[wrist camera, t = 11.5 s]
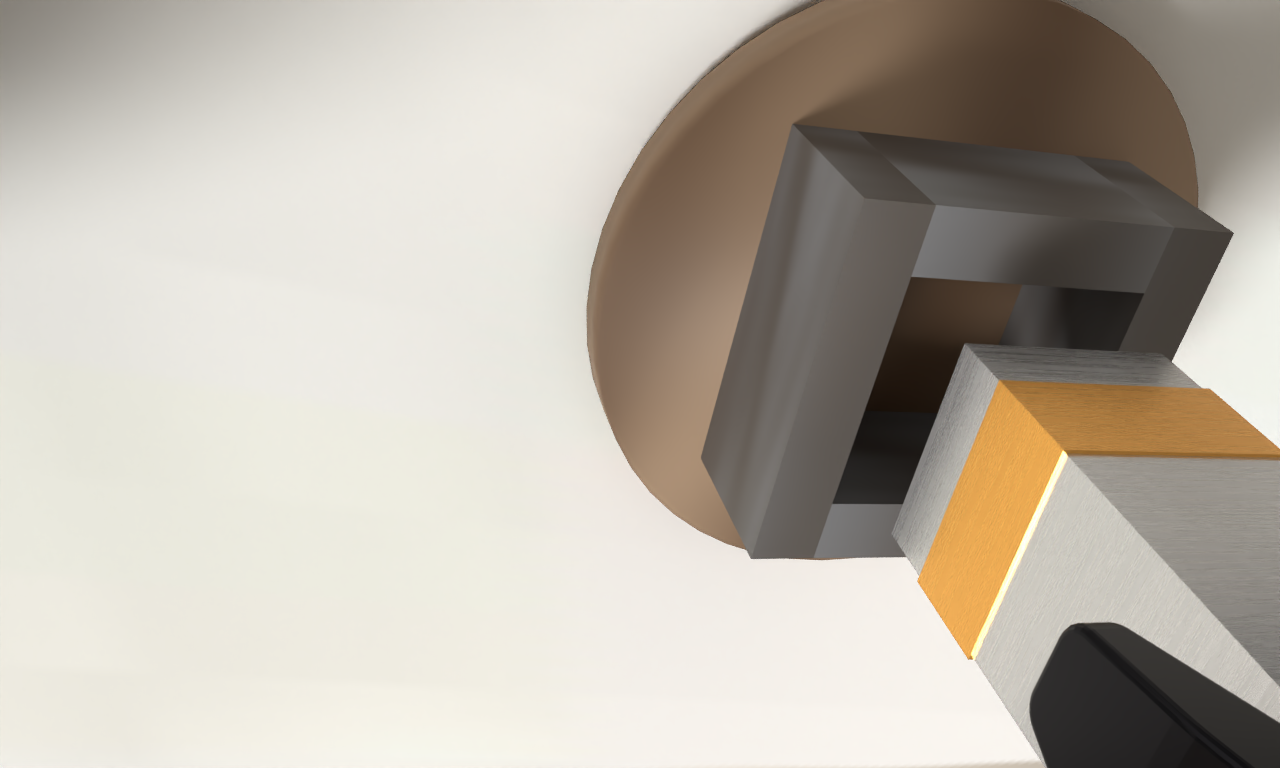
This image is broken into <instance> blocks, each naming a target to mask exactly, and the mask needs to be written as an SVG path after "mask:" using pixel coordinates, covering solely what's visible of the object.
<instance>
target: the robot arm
mask: <svg viewBox="0 0 1280 768" xmlns="http://www.w3.org/2000/svg"><path fill="white" fill-rule="evenodd" d="M1029 715H1030V721H1031V725H1032V728H1033V731H1034V734H1035V737H1036V739H1037V742H1038V745H1039V747H1040V750H1041V753H1042V756H1043V758H1044V761H1045V764H1046V766H1047V768H1280V722H1278V721H1276V720H1275V719H1273V718H1272V717H1270V716H1268V715H1267V714H1265V713H1264V712H1262V711H1260V710H1259V709H1257V708H1256V707H1254V706H1252V705H1251V704H1249V703H1247V702H1246V701H1244V700H1243V699H1241V698H1239V697H1238V696H1236V695H1235V694H1233V693H1231V692H1230V691H1228V690H1227V689H1225V688H1223V687H1222V686H1220V685H1219V684H1217V683H1215V682H1214V681H1212V680H1211V679H1209V678H1207V677H1206V676H1204V675H1202V674H1201V673H1199V672H1198V671H1196V670H1194V669H1193V668H1191V667H1190V666H1188V665H1186V664H1185V663H1183V662H1182V661H1180V660H1178V659H1177V658H1175V657H1174V656H1172V655H1170V654H1169V653H1167V652H1165V651H1164V650H1162V649H1161V648H1159V647H1157V646H1156V645H1154V644H1153V643H1151V642H1149V641H1148V640H1146V639H1145V638H1143V637H1141V636H1140V635H1138V634H1137V633H1135V632H1133V631H1132V630H1130V629H1129V628H1127V627H1125V626H1123V625H1121V624H1117V623H1112V622H1094V623H1076V624H1073V625H1070V626H1069V627H1068V628H1066V629H1065V630H1064V631H1063V632H1062V634H1061V635H1060V637H1059V639H1058V641H1057V643H1056V645H1055V647H1054V649H1053V651H1052V653H1051V655H1050V657H1049V659H1048V661H1047V663H1046V665H1045V667H1044V669H1043V671H1042V673H1041V675H1040V677H1039V679H1038V681H1037V683H1036V685H1035V687H1034V689H1033V691H1032V693H1031V697H1030V702H1029Z"/></svg>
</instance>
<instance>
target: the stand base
mask: <svg viewBox="0 0 1280 768" xmlns="http://www.w3.org/2000/svg"><path fill="white" fill-rule="evenodd" d="M1233 234H1234V233H1233V232H1232V231H1230V230H1229V229H1227V228H1226V227H1224V226H1223V225H1221V224H1220V223H1218V222H1217V221H1215V220H1214V219H1213V218H1211V217H1210V216H1208V215H1207V214H1205V213H1204V212H1202V211H1201V210H1199V209H1198V185H1197V176H1196V167H1195V158H1194V153H1193V150H1192V146H1191V142H1190V139H1189V135H1188V131H1187V128H1186V124H1185V121H1184V119H1183V117H1182V115H1181V113H1180V111H1179V109H1178V106H1177V104H1176V102H1175V100H1174V98H1173V96H1172V94H1171V92H1170V90H1169V89H1168V87H1167V86H1166V85H1165V83H1164V82H1163V80H1162V79H1161V77H1160V76H1159V75H1158V73H1157V72H1156V70H1155V69H1154V68H1153V66H1152V65H1151V63H1150V62H1149V61H1147V60H1146V59H1145V58H1144V57H1143V56H1142V55H1141V54H1140V53H1139V52H1138V51H1137V50H1136V49H1135V48H1134V47H1133V46H1132V45H1131V44H1130V43H1129V42H1128V41H1127V40H1126V39H1125V38H1123V37H1122V36H1120V35H1119V34H1117V33H1116V32H1114V31H1113V30H1111V29H1110V28H1108V27H1107V26H1105V25H1104V24H1102V23H1101V22H1099V21H1098V20H1096V19H1094V18H1093V17H1091V16H1089V15H1087V14H1085V13H1083V12H1081V11H1079V10H1078V9H1076V8H1074V7H1072V6H1070V5H1068V4H1066V3H1065V2H1062V1H1060V0H824V1H821V2H819V3H817V4H815V5H813V6H811V7H809V8H807V9H805V10H803V11H801V12H799V13H797V14H795V15H793V16H791V17H789V18H787V19H785V20H783V21H781V22H779V23H777V24H775V25H774V26H772V27H771V28H769V29H768V30H766V31H765V32H763V33H762V34H760V35H759V36H757V37H756V38H754V39H752V40H751V41H749V42H748V43H746V44H745V45H743V46H742V47H740V48H739V49H737V50H736V51H735V52H734V53H733V54H731V55H730V56H729V57H728V58H727V59H725V60H724V61H723V62H722V63H721V64H719V65H718V66H717V67H716V68H715V69H713V70H712V71H711V72H710V73H709V74H707V75H706V76H705V77H704V78H703V79H701V81H700V82H699V83H698V84H697V85H696V86H695V87H694V88H693V89H692V90H691V91H690V92H689V93H688V94H687V95H686V96H685V97H684V98H683V99H682V101H681V102H680V103H679V104H678V105H677V106H676V107H675V108H674V109H673V110H672V111H671V112H670V113H669V114H668V116H667V117H666V118H665V120H664V121H663V122H662V124H661V125H660V126H659V128H658V129H657V130H656V132H655V133H654V134H653V136H652V137H651V138H650V140H649V141H648V142H647V144H646V145H645V146H644V148H643V149H642V150H641V152H640V154H639V156H638V157H637V159H636V161H635V163H634V164H633V166H632V168H631V170H630V171H629V173H628V175H627V176H626V178H625V180H624V182H623V183H622V185H621V187H620V189H619V191H618V193H617V195H616V198H615V200H614V203H613V205H612V207H611V210H610V212H609V215H608V217H607V219H606V222H605V224H604V226H603V229H602V232H601V236H600V240H599V243H598V247H597V251H596V254H595V258H594V262H593V265H592V269H591V277H590V285H589V292H588V300H587V346H588V352H589V358H590V363H591V369H592V375H593V380H594V383H595V386H596V388H597V391H598V394H599V397H600V400H601V403H602V406H603V409H604V412H605V414H606V416H607V419H608V421H609V424H610V426H611V429H612V431H613V433H614V436H615V438H616V440H617V442H618V444H619V446H620V448H621V450H622V451H623V453H624V455H625V457H626V459H627V461H628V463H629V464H630V466H631V468H632V469H633V471H634V472H635V473H636V474H637V476H638V477H639V478H640V480H641V481H642V482H643V484H644V485H645V486H646V487H647V489H648V490H649V491H650V493H652V494H653V495H654V496H655V497H656V498H657V499H658V500H659V501H660V502H661V503H662V504H663V505H664V506H666V507H667V508H668V509H669V510H670V511H671V512H672V513H673V514H675V515H676V516H678V517H679V518H681V519H682V520H684V521H685V522H687V523H688V524H690V525H691V526H693V527H694V528H696V529H697V530H699V531H700V532H703V533H705V534H707V535H709V536H711V537H713V538H715V539H718V540H720V541H722V542H724V543H726V544H729V545H732V546H735V547H739V548H742V549H745V550H747V552H748V554H749V556H750V558H751V559H779V558H789V559H809V560H831V559H846V558H866V557H906V555H905V554H904V552H903V551H902V549H901V548H900V546H899V545H898V543H897V541H896V540H895V538H894V537H893V535H892V531H893V529H894V526H895V524H896V521H897V518H898V516H899V513H900V511H901V508H902V505H903V503H904V500H905V498H906V495H907V492H908V490H909V487H910V485H911V482H912V479H913V477H914V474H915V471H916V469H917V466H918V464H919V461H920V458H921V456H922V453H923V451H924V448H925V445H926V443H927V440H928V438H929V435H930V432H931V430H932V427H933V425H934V422H935V419H936V417H937V414H938V412H939V409H940V406H941V404H942V401H943V399H944V396H945V393H946V391H947V388H948V386H949V383H950V380H951V378H952V375H953V372H954V370H955V367H956V365H957V362H958V359H959V357H960V354H961V352H962V349H963V346H964V344H965V343H968V344H987V345H1006V346H1025V347H1044V348H1063V349H1082V350H1100V351H1119V352H1138V353H1157V354H1163V355H1164V356H1165V357H1166V358H1168V359H1169V360H1170V361H1171V362H1172V360H1173V358H1174V355H1175V353H1176V351H1177V349H1178V347H1179V345H1180V343H1181V341H1182V339H1183V337H1184V335H1185V333H1186V331H1187V329H1188V327H1189V325H1190V322H1191V320H1192V318H1193V316H1194V314H1195V312H1196V310H1197V308H1198V306H1199V304H1200V302H1201V300H1202V298H1203V296H1204V294H1205V292H1206V290H1207V287H1208V285H1209V283H1210V281H1211V279H1212V277H1213V275H1214V273H1215V271H1216V269H1217V267H1218V265H1219V263H1220V261H1221V259H1222V257H1223V254H1224V252H1225V250H1226V248H1227V246H1228V244H1229V242H1230V240H1231V238H1232V236H1233Z"/></svg>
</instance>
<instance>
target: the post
mask: <svg viewBox="0 0 1280 768" xmlns="http://www.w3.org/2000/svg"><path fill="white" fill-rule="evenodd" d="M892 535H893V537H894V538H895V540H896V541H897V543H898V545H899V546H900V548H901V549H902V551H903V552H904V554H905V555H906V557H907V558H908V560H909V561H910V563H911V564H912V566H913V567H914V569H915V570H916V572H917V573H918V575H919V578H918V581H917V582H918V583H919V585H920V586H921V588H922V589H923V591H924V592H925V594H926V595H927V597H928V598H929V600H930V602H931V603H932V605H933V606H934V608H935V609H936V611H937V612H938V614H939V615H940V617H941V618H942V620H943V621H944V623H945V624H946V626H947V628H948V629H949V631H950V632H951V634H952V635H953V637H954V638H955V640H956V641H957V643H958V644H959V646H960V647H961V649H962V650H963V652H964V654H965V655H966V657H967V658H968V660H969V659H974V660H975V661H976V663H977V664H978V666H979V667H980V669H981V670H982V672H983V673H984V675H985V676H986V678H987V680H988V681H989V683H990V684H991V686H992V687H993V689H994V690H995V692H996V693H997V695H998V696H999V698H1000V699H1001V701H1002V702H1003V704H1004V705H1005V707H1006V708H1007V710H1008V711H1009V713H1010V714H1011V716H1012V717H1013V719H1014V720H1015V722H1016V724H1017V725H1018V727H1019V728H1020V730H1021V731H1022V733H1023V734H1024V736H1025V737H1026V739H1027V740H1028V742H1029V743H1030V745H1031V746H1032V748H1033V749H1034V751H1035V752H1036V754H1037V755H1038V757H1039V758H1040V760H1041V761H1042V763H1043V764H1044V766H1045V767H1046V768H1047V766H1046V764H1045V761H1044V758H1043V756H1042V753H1041V750H1040V747H1039V745H1038V742H1037V739H1036V737H1035V734H1034V731H1033V728H1032V725H1031V721H1030V715H1029V702H1030V697H1031V693H1032V691H1033V689H1034V687H1035V685H1036V683H1037V681H1038V679H1039V677H1040V675H1041V673H1042V671H1043V669H1044V667H1045V665H1046V663H1047V661H1048V659H1049V657H1050V655H1051V653H1052V651H1053V649H1054V647H1055V645H1056V643H1057V641H1058V639H1059V637H1060V635H1061V634H1062V632H1063V631H1064V630H1065V629H1066V628H1068V627H1069V626H1070V625H1073V624H1076V623H1094V622H1112V623H1117V624H1121V625H1123V626H1125V627H1127V628H1129V629H1130V630H1132V631H1133V632H1135V633H1137V634H1138V635H1140V636H1141V637H1143V638H1145V639H1146V640H1148V641H1149V642H1151V643H1153V644H1154V645H1156V646H1157V647H1159V648H1161V649H1162V650H1164V651H1165V652H1167V653H1169V654H1170V655H1172V656H1174V657H1175V658H1177V659H1178V660H1180V661H1182V662H1183V663H1185V664H1186V665H1188V666H1190V667H1191V668H1193V669H1194V670H1196V671H1198V672H1199V673H1201V674H1202V675H1204V676H1206V677H1207V678H1209V679H1211V680H1212V681H1214V682H1215V683H1217V684H1219V685H1220V686H1222V687H1223V688H1225V689H1227V690H1228V691H1230V692H1231V693H1233V694H1235V695H1236V696H1238V697H1239V698H1241V699H1243V700H1244V701H1246V702H1247V703H1249V704H1251V705H1252V706H1254V707H1256V708H1257V709H1259V710H1260V711H1262V712H1264V713H1265V714H1267V715H1268V716H1270V717H1272V718H1273V719H1275V720H1276V721H1278V722H1280V449H1279V448H1278V447H1277V446H1276V445H1275V444H1273V443H1272V442H1271V441H1270V440H1269V439H1268V438H1266V437H1265V436H1264V435H1263V434H1262V433H1261V432H1259V431H1258V430H1257V429H1256V428H1255V427H1254V426H1253V425H1251V424H1250V423H1249V422H1248V421H1247V420H1246V419H1244V418H1243V417H1242V416H1241V415H1240V414H1239V413H1237V412H1236V411H1235V410H1234V409H1233V408H1232V407H1230V406H1229V405H1228V404H1227V403H1226V402H1225V401H1223V400H1222V399H1221V398H1220V397H1219V396H1218V395H1216V394H1215V393H1214V392H1213V391H1212V390H1211V389H1203V388H1201V387H1200V386H1199V385H1198V384H1196V383H1195V382H1194V381H1193V380H1192V379H1191V378H1189V377H1188V376H1187V375H1186V374H1185V373H1184V372H1183V371H1181V370H1180V369H1179V368H1178V367H1177V366H1176V365H1174V364H1173V363H1172V362H1171V361H1170V360H1169V359H1168V358H1166V357H1165V356H1164V355H1163V354H1157V353H1138V352H1119V351H1100V350H1082V349H1063V348H1044V347H1025V346H1006V345H987V344H968V343H965V344H964V346H963V349H962V352H961V354H960V357H959V359H958V362H957V365H956V367H955V370H954V372H953V375H952V378H951V380H950V383H949V386H948V388H947V391H946V393H945V396H944V399H943V401H942V404H941V406H940V409H939V412H938V414H937V417H936V419H935V422H934V425H933V427H932V430H931V432H930V435H929V438H928V440H927V443H926V445H925V448H924V451H923V453H922V456H921V458H920V461H919V464H918V466H917V469H916V471H915V474H914V477H913V479H912V482H911V485H910V487H909V490H908V492H907V495H906V498H905V500H904V503H903V505H902V508H901V511H900V513H899V516H898V518H897V521H896V524H895V526H894V529H893V531H892Z"/></svg>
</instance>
